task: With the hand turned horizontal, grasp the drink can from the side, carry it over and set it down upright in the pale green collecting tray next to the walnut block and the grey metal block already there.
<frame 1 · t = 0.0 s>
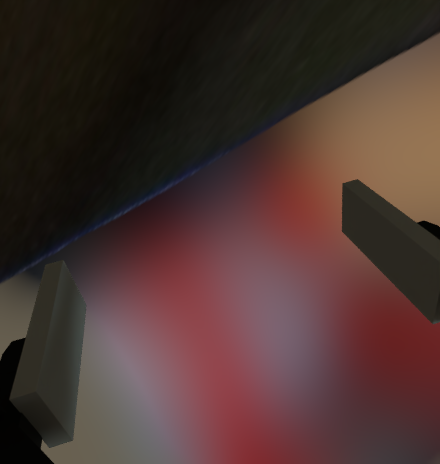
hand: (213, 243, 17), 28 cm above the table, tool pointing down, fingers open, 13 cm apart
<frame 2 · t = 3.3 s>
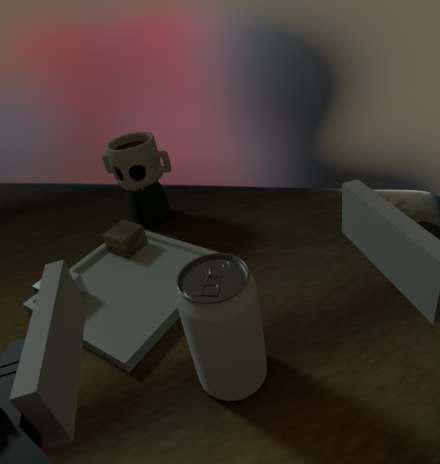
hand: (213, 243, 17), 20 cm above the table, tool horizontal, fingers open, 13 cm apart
character mug: (152, 217, 61), on the table
can: (233, 372, 35), on the table
tray: (130, 287, 47), on the table
walnut block: (128, 247, 53), point 1 cm above the table, touching tray
grey metal block: (65, 298, 46), point 1 cm above the table, touching tray
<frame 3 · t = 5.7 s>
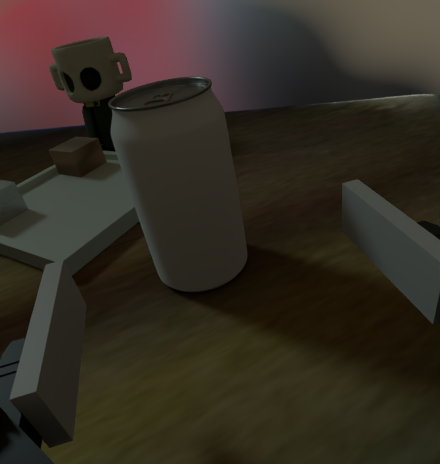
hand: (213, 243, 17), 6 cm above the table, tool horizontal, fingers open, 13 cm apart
character mug: (115, 146, 53), on the table
can: (204, 266, 27), on the table
tray: (80, 203, 39), on the table
walnut block: (83, 168, 45), point 1 cm above the table, touching tray
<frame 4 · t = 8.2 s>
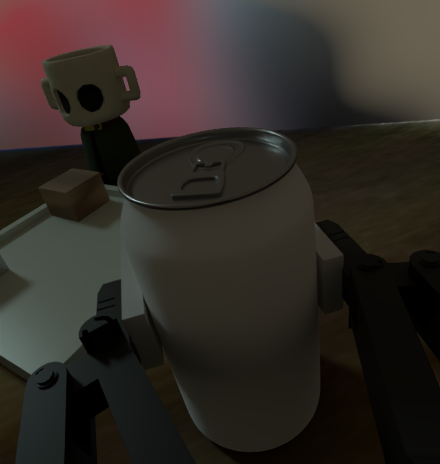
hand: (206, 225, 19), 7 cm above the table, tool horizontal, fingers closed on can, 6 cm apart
character mug: (119, 174, 44), on the table
can: (252, 390, 18), on the table, touching gripper
tray: (77, 260, 30), on the table
walnut block: (81, 207, 36), point 1 cm above the table, touching tray
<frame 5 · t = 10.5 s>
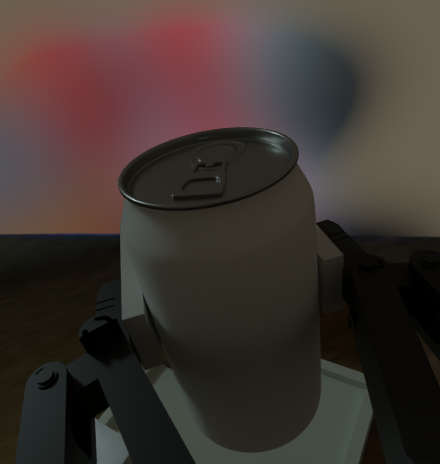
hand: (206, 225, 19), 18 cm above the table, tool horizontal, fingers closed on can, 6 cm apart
can: (253, 390, 18), point 11 cm above the table, touching gripper
tray: (219, 448, 27), on the table
when the fingers open (9 cm above the table, at t = 12.9 s): can drops 1 cm, resting on tray.
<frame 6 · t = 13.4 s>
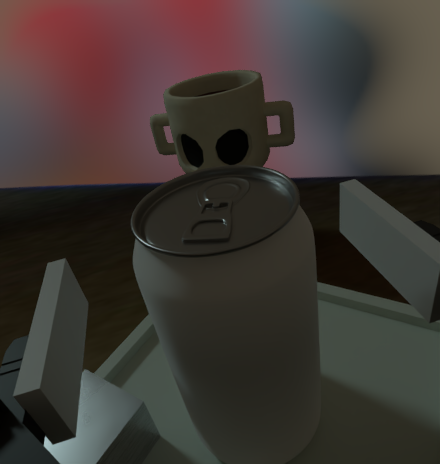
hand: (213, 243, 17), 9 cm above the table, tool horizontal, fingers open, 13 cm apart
character mug: (238, 236, 33), on the table
can: (256, 407, 19), point 1 cm above the table, touching tray
tray: (257, 413, 20), on the table
grey metal block: (104, 454, 18), point 1 cm above the table, touching tray
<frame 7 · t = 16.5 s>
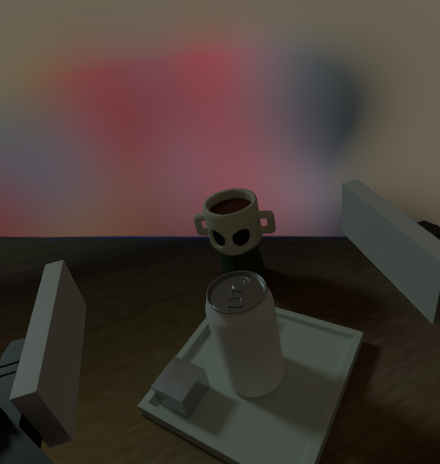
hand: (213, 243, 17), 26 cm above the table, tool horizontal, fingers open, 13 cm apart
character mug: (244, 279, 55), on the table
can: (254, 373, 41), point 1 cm above the table, touching tray
tray: (255, 376, 41), on the table
grey metal block: (184, 394, 40), point 1 cm above the table, touching tray
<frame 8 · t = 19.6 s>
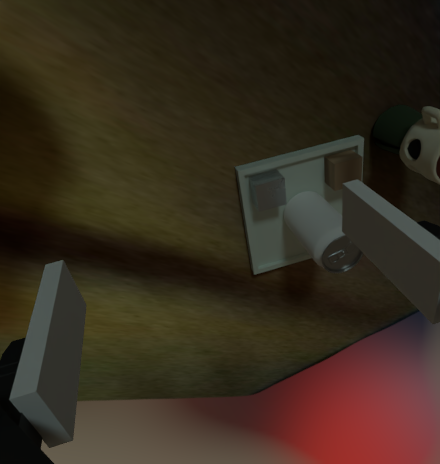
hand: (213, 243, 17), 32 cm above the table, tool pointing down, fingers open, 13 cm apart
character mug: (389, 125, 53), on the table
can: (302, 208, 56), point 1 cm above the table, touching tray
tray: (300, 206, 56), on the table
walnut block: (337, 166, 53), point 1 cm above the table, touching tray
grey metal block: (264, 185, 52), point 1 cm above the table, touching tray
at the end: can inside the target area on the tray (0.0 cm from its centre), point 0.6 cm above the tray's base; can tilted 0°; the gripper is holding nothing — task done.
